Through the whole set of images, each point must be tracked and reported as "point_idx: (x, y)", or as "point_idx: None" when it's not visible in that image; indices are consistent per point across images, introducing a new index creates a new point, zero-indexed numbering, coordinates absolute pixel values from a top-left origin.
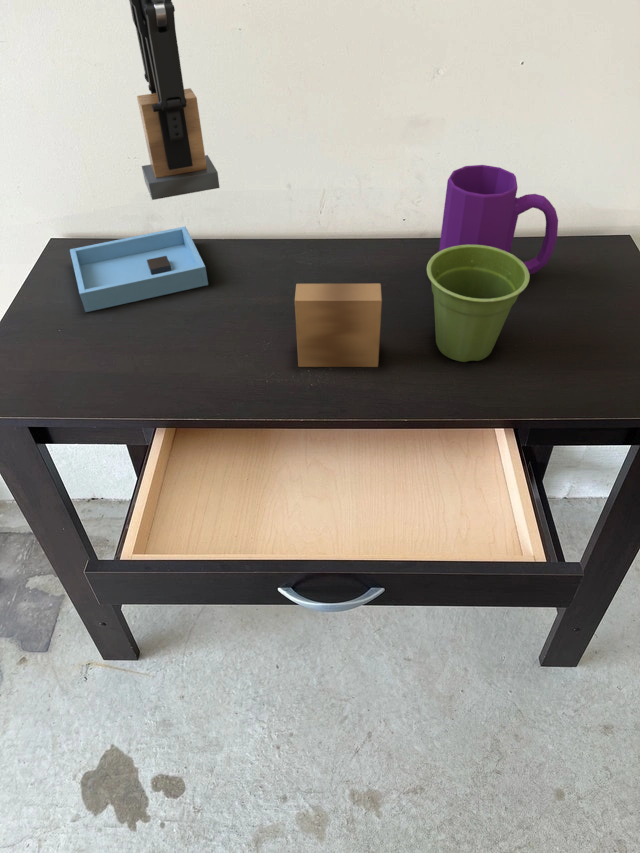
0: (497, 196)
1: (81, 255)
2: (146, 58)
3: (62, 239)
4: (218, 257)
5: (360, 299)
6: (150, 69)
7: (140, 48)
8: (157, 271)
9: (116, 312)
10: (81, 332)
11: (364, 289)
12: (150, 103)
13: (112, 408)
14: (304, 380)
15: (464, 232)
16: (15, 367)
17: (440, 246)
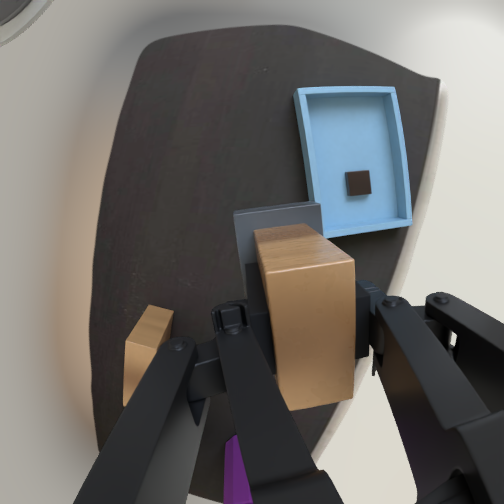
0: None
1: (388, 98)
2: (406, 359)
3: (437, 89)
4: (365, 251)
5: (124, 392)
6: (393, 343)
7: (494, 329)
8: (346, 179)
9: (285, 126)
10: (255, 90)
11: None
12: (271, 301)
13: (125, 128)
14: (131, 305)
15: (230, 478)
16: (211, 35)
17: None
